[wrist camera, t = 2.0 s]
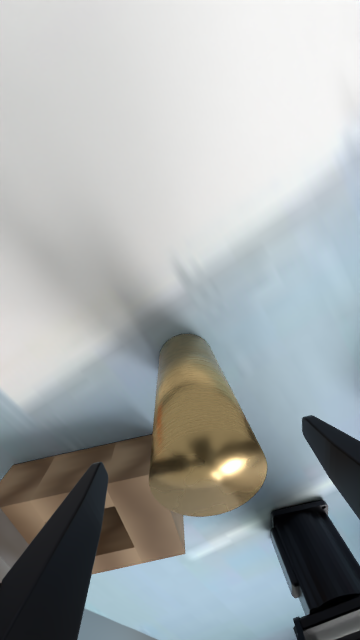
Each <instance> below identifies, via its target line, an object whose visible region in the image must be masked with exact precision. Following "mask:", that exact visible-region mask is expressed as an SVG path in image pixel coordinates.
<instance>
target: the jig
mask: <svg viewBox="0 0 360 640" xmlns="http://www.w3.org/2000/svg"><path fill="white" fill-rule="evenodd" d="M152 435H153V434H151V435H147V436H142V437H138V438H133V439H129V440H124V441H120V442H115V443H111V444H106V445H102V446H97V447H92V448H88V449H83V450H79V451H74V452H70V453H65V454H61V455H56V456H52V457H47V458H43V459H38V460H34V461H29V462H24V463H20V464H15V465H13V466H12V467H11V468H10V470H9V471H8V472H7V474H6V475H5V476H4V477H3V479H2V480H1V481H0V583H1V582H2V579H3V578H4V577H5V575H6V574H7V573H8V571H9V570H10V569H11V568H12V566H13V565H14V564H15V562H16V561H17V560H18V559H19V557H20V556H21V555H22V553H23V552H24V551H25V549H26V548H27V547H28V546H29V544H30V543H31V542H32V540H33V539H34V538H35V537H36V535H37V534H38V533H39V531H40V530H41V529H42V528H43V526H44V525H45V524H46V522H47V521H48V520H49V518H50V517H51V516H52V515H53V513H54V512H55V511H56V509H57V508H58V507H59V506H60V504H61V503H62V502H63V500H64V499H65V498H66V497H67V495H68V494H69V493H70V491H71V490H72V489H73V487H74V486H75V485H76V484H77V482H78V481H79V480H80V478H81V477H82V476H83V475H84V473H85V472H86V471H87V469H88V468H89V467H90V466H91V465H92V464H93V463H97V462H102V463H103V465H104V467H105V469H106V471H107V473H108V486H107V494H106V501H105V508H104V515H103V522H102V528H101V533H100V538H99V542H98V547H97V552H96V556H95V561H94V565H93V570H92V574H96V573H100V572H105V571H110V570H114V569H119V568H123V567H128V566H132V565H137V564H141V563H146V562H150V561H155V560H159V559H164V558H168V557H173V556H177V555H182V554H185V540H184V524H183V515H182V514H178V513H175V512H173V511H171V510H169V509H167V508H165V507H164V506H162V505H161V504H160V503H159V502H158V501H157V500H156V499H155V497H154V496H153V494H152V492H151V490H150V486H149V470H150V458H151V446H152Z"/></svg>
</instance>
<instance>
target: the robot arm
mask: <svg viewBox="0 0 360 640" xmlns="http://www.w3.org/2000/svg"><path fill="white" fill-rule="evenodd" d="M302 432H303V435H304V437H305V439H306V440H307V442H308V444H309V445H310V447H311V448H312V450H313V452H314V453H315V455H316V457H317V458H318V460H319V462H320V463H321V465H322V467H323V468H324V470H325V471H326V473H327V475H328V476H329V478H330V479H331V481H332V482H333V483H334V485H335V486H336V488H337V489H338V490H339V492H340V493H341V495H342V496H343V497H344V499H345V500H346V501H347V503H348V504H349V506H350V507H351V508H352V510H353V511H354V513H355V514H356V515H357V517H358V518H359V519H360V441H358V440H357V439H355V438H353V437H351V436H349V435H347V434H346V433H344V432H342V431H340V430H338V429H337V428H335V427H333V426H331V425H329V424H327V423H326V422H324V421H322V420H320V419H318V418H317V417H315V416H312V415H310V416H305V417H303V418H302ZM107 486H108V473H107V471H106V469H105V467H104V465H103V463H102V462H97V463H93V464H92V465H91V466H90V467H89V468H88V469H87V471H86V472H85V473H84V475H83V476H82V477H81V478H80V480H79V481H78V482H77V484H76V485H75V486H74V487H73V489H72V490H71V491H70V493H69V494H68V495H67V497H66V498H65V499H64V500H63V502H62V503H61V504H60V506H59V507H58V508H57V509H56V511H55V512H54V513H53V515H52V516H51V517H50V518H49V520H48V521H47V522H46V524H45V525H44V526H43V528H42V529H41V530H40V531H39V533H38V534H37V535H36V537H35V538H34V539H33V540H32V542H31V543H30V544H29V546H28V547H27V548H26V549H25V551H24V552H23V553H22V555H21V556H20V557H19V559H18V560H17V561H16V562H15V564H14V565H13V566H12V568H11V569H10V570H9V571H8V573H7V574H6V575H5V577H4V578H3V579H2V582H1V583H0V640H77V638H78V634H79V629H80V625H81V620H82V615H83V611H84V606H85V602H86V597H87V593H88V588H89V584H90V579H91V574H92V570H93V565H94V561H95V556H96V552H97V547H98V542H99V538H100V533H101V528H102V522H103V515H104V508H105V501H106V494H107ZM271 518H272V528H271V538H272V543H273V546H274V549H275V551H276V554H277V557H278V560H279V562H280V565H281V568H282V570H283V573H284V576H285V578H286V581H287V584H288V586H289V589H290V592H291V594H292V596H293V597H294V598H298V597H299V599H300V602H301V605H302V607H303V610H304V612H305V615H306V616H304V617H301V618H299V617H296V618H293V620H294V624H295V627H294V631H295V634H296V637H297V640H360V566H359V564H358V562H357V561H356V559H355V558H354V556H353V555H352V553H351V551H350V550H349V548H348V547H347V545H346V543H345V542H344V540H343V539H342V537H341V536H340V534H339V532H338V531H337V529H336V528H335V526H334V525H333V523H332V521H331V520H330V518H329V517H328V505H327V504H326V502H325V501H323V500H321V501H317V502H312V503H308V504H303V505H299V506H294V507H290V508H285V509H280V510H276V511H273V512H272V513H271Z"/></svg>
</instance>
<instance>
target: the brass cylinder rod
mask: <svg viewBox="0 0 360 640" xmlns="http://www.w3.org/2000/svg"><path fill="white" fill-rule="evenodd" d="M266 473H267V462H266V458H265V456H264V453H263V451H262V449H261V447H260V445H259V443H258V441H257V439H256V437H255V435H254V433H253V431H252V429H251V427H250V425H249V424H248V422H247V420H246V418H245V416H244V414H243V412H242V410H241V408H240V406H239V404H238V402H237V400H236V398H235V396H234V394H233V392H232V390H231V388H230V386H229V384H228V382H227V380H226V378H225V376H224V374H223V372H222V370H221V368H220V366H219V364H218V362H217V360H216V358H215V356H214V354H213V352H212V350H211V348H210V346H209V345H208V343H207V342H206V341H205V340H204V339H202V338H201V337H199V336H197V335H193V334H180V335H177V336H174V337H172V338H171V339H169V340H168V341H167V342H166V343H165V344H164V345H163V347H162V349H161V351H160V355H159V366H158V377H157V389H156V400H155V412H154V423H153V435H152V446H151V458H150V470H149V486H150V490H151V492H152V494H153V496H154V497H155V499H156V500H157V501H158V502H159V503H160V504H161V505H162V506H164V507H165V508H167V509H169V510H171V511H173V512H175V513H178V514H182V515H187V516H196V517H204V516H213V515H218V514H222V513H225V512H228V511H231V510H233V509H235V508H237V507H239V506H241V505H243V504H244V503H246V502H247V501H248V500H250V499H251V498H252V497H253V496H254V495H255V494H256V493H257V492H258V491H259V489H260V488H261V486H262V484H263V482H264V480H265V477H266Z"/></svg>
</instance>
